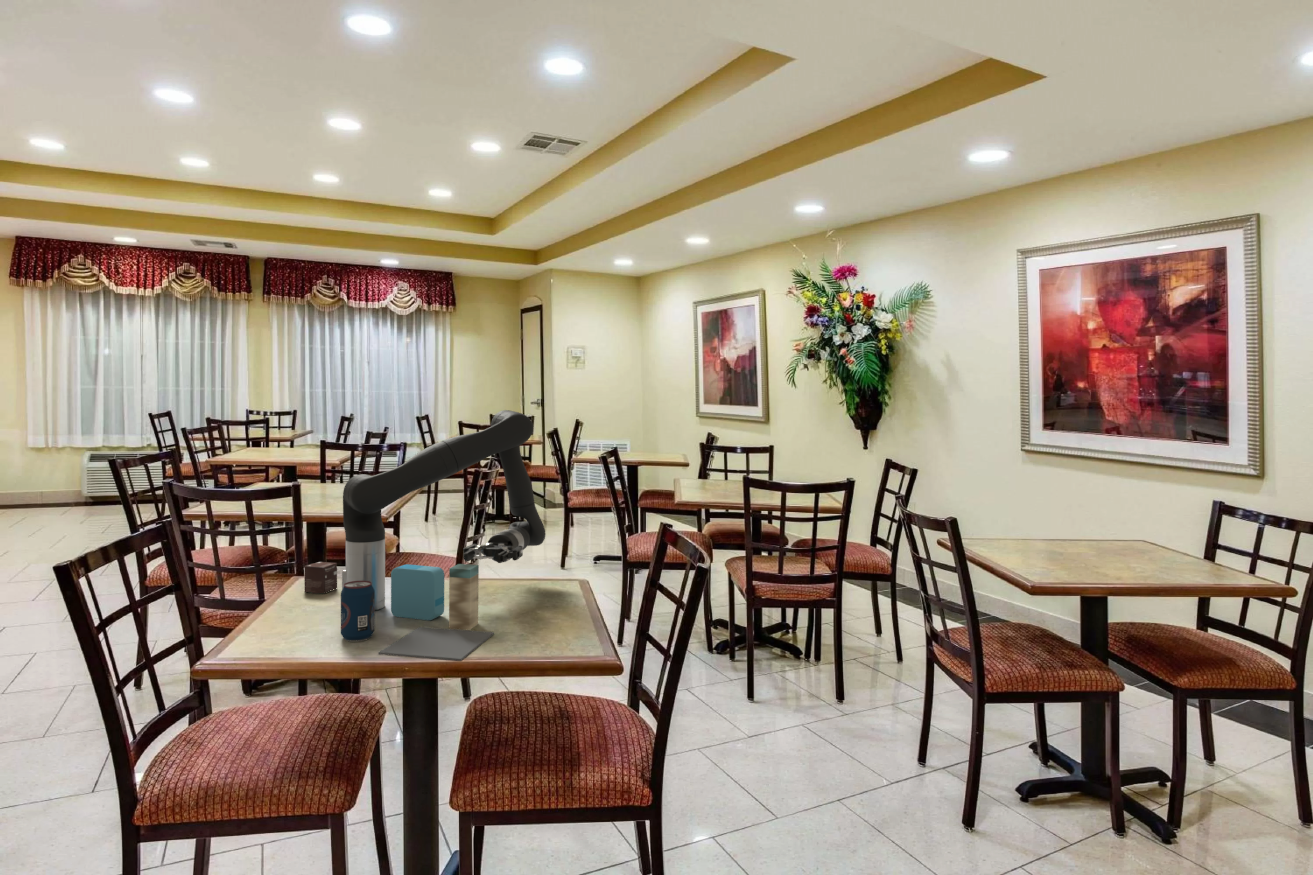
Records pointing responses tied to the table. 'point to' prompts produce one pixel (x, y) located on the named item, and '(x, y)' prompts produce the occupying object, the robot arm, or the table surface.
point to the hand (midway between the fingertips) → (482, 558)
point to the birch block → (463, 596)
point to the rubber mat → (438, 643)
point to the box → (320, 577)
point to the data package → (417, 592)
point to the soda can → (357, 610)
